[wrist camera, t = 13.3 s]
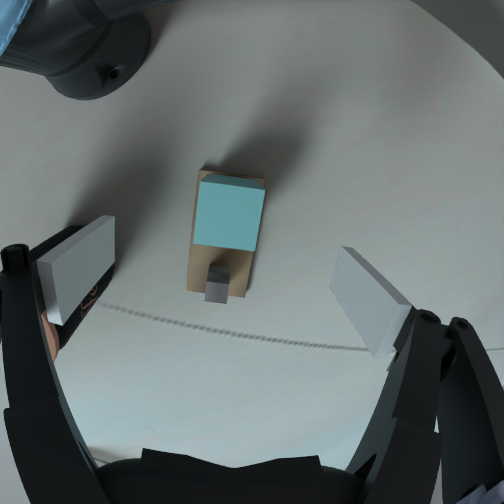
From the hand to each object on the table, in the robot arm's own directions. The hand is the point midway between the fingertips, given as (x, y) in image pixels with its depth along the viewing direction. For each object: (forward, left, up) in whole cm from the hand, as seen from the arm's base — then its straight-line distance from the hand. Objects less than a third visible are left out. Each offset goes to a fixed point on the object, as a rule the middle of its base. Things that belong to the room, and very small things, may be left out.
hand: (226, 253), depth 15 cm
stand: (0, -5, -20) cm, 21 cm away
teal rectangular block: (0, 0, -18) cm, 18 cm away
